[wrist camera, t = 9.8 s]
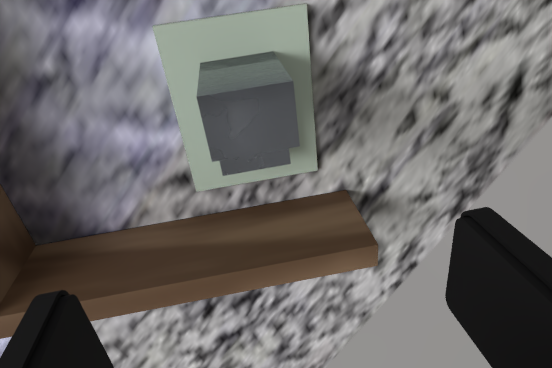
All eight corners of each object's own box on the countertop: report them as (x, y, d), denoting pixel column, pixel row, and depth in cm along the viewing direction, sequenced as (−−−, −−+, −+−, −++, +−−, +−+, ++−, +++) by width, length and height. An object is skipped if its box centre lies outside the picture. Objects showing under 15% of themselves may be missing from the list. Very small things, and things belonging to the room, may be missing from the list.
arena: (346, 208, 27) (377, 265, 22) (22, 267, 26) (-25, 343, 21) (337, -204, 16) (395, -280, 11) (-235, -141, 15) (-475, -196, 10)
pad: (316, 167, 25) (317, 170, 25) (196, 188, 25) (196, 191, 24) (305, 3, 20) (306, 4, 20) (153, 25, 20) (152, 26, 19)
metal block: (273, 51, 21) (293, 81, 16) (285, 149, 24) (305, 200, 19) (200, 62, 20) (196, 96, 15) (222, 160, 24) (225, 216, 18)
